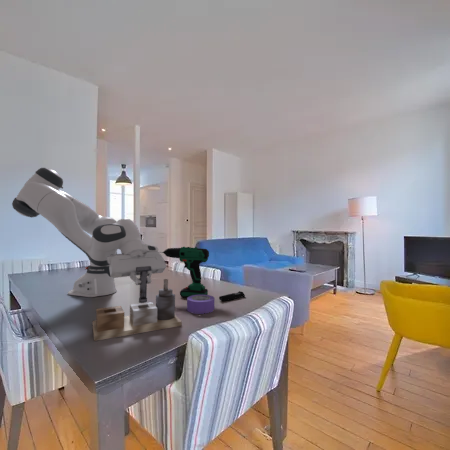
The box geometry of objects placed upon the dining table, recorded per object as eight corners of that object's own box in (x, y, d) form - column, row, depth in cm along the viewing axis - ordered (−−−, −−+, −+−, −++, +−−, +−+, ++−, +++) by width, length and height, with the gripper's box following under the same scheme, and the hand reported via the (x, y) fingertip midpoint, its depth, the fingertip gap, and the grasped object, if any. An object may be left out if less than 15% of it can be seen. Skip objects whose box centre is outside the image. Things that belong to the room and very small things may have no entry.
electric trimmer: (217, 301, 125) (217, 295, 125) (240, 296, 135) (240, 289, 135) (222, 303, 122) (222, 297, 122) (245, 297, 132) (245, 291, 132)
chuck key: (137, 303, 91) (138, 267, 91) (134, 302, 93) (135, 266, 93) (151, 301, 94) (152, 266, 94) (147, 299, 96) (148, 265, 96)
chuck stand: (94, 341, 80) (95, 290, 80) (92, 325, 93) (93, 281, 92) (181, 325, 94) (182, 282, 94) (170, 313, 106) (170, 275, 106)
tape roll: (187, 305, 118) (188, 294, 118) (213, 305, 119) (214, 294, 119) (185, 314, 106) (186, 301, 106) (214, 314, 107) (215, 301, 107)
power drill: (205, 299, 126) (206, 247, 126) (150, 295, 132) (151, 245, 132) (208, 296, 131) (209, 246, 131) (155, 292, 137) (156, 244, 137)
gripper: (107, 249, 92) (115, 281, 85) (161, 247, 106) (172, 275, 98) (103, 260, 96) (111, 292, 88) (156, 256, 109) (166, 284, 101)
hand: (144, 283), depth 93 cm, fingers closed on chuck key, 2 cm apart
